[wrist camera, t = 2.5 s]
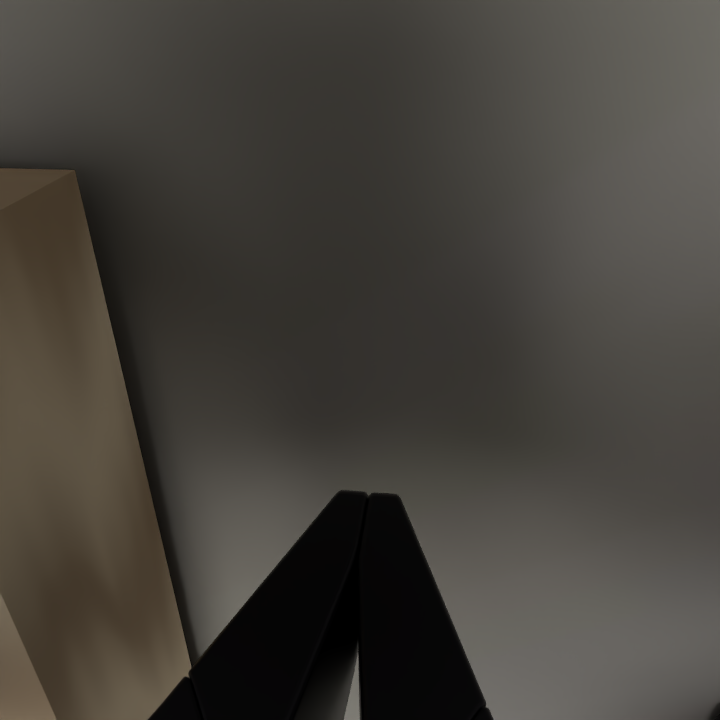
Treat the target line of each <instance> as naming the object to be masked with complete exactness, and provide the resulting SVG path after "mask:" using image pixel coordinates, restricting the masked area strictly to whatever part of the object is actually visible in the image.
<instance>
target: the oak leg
mask: <svg viewBox="0 0 720 720" xmlns="http://www.w3.org/2000/svg"><path fill="white" fill-rule="evenodd" d="M190 669H191V663H190V659H189V655H188V650H187V646H186V642H185V638H184V633H183V629H182V625H181V621H180V616H179V612H178V608H177V604H176V599H175V595H174V591H173V587H172V582H171V578H170V574H169V569H168V565H167V561H166V557H165V552H164V548H163V544H162V540H161V535H160V531H159V527H158V523H157V518H156V514H155V510H154V506H153V501H152V497H151V493H150V488H149V484H148V480H147V476H146V471H145V467H144V463H143V459H142V454H141V450H140V446H139V442H138V437H137V433H136V429H135V425H134V420H133V416H132V412H131V407H130V403H129V399H128V395H127V390H126V386H125V382H124V378H123V373H122V369H121V365H120V361H119V356H118V352H117V348H116V344H115V339H114V335H113V331H112V326H111V322H110V318H109V314H108V309H107V305H106V301H105V297H104V292H103V288H102V284H101V280H100V275H99V271H98V267H97V263H96V258H95V254H94V250H93V245H92V241H91V237H90V233H89V228H88V224H87V220H86V216H85V211H84V207H83V203H82V199H81V194H80V190H79V186H78V182H77V177H76V173H75V170H56V169H13V168H0V720H148V719H149V717H150V716H151V715H152V714H153V713H154V712H155V711H156V709H157V708H158V707H159V706H160V705H161V704H162V703H163V701H164V700H165V699H166V698H167V697H168V695H169V694H170V693H171V692H172V690H173V689H174V688H175V687H176V686H177V684H178V683H179V682H180V681H181V679H182V678H183V677H185V676H186V677H189V675H188V672H189V670H190Z"/></svg>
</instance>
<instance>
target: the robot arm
mask: <svg viewBox="0 0 720 720" xmlns="http://www.w3.org/2000/svg"><path fill="white" fill-rule="evenodd" d="M357 654H358V655H359V706H360V720H493V717H492V715H491V712H490V710H489V709H488V708H486V701H485V699H484V697H483V694H482V692H481V689H480V687H479V685H478V682H477V680H476V677H475V675H474V673H473V670H472V668H471V665H470V663H469V661H468V658H467V656H466V654H465V651H464V649H463V646H462V644H461V642H460V639H459V637H458V634H457V632H456V630H455V627H454V625H453V622H452V620H451V618H450V615H449V613H448V610H447V608H446V606H445V603H444V601H443V599H442V596H441V594H440V591H439V589H438V587H437V584H436V582H435V579H434V577H433V575H432V572H431V570H430V567H429V565H428V563H427V560H426V558H425V555H424V553H423V551H422V548H421V546H420V543H419V541H418V539H417V536H416V534H415V532H414V529H413V527H412V524H411V522H410V520H409V517H408V515H407V512H406V510H405V508H404V505H403V503H402V500H401V498H400V497H399V496H398V495H397V494H389V493H375V492H374V493H371V494H370V496H368V494H367V493H366V492H361V491H347V490H341V491H339V492H338V493H337V494H336V495H335V496H334V497H333V498H332V499H331V501H330V502H329V503H328V504H327V505H326V507H325V508H324V509H323V510H322V511H321V513H320V514H319V515H318V516H317V518H316V519H315V520H314V521H313V522H312V524H311V525H310V526H309V527H308V528H307V530H306V531H305V532H304V533H303V534H302V536H301V537H300V538H299V539H298V540H297V542H296V543H295V544H294V545H293V546H292V548H291V549H290V550H289V551H288V552H287V554H286V555H285V556H284V557H283V558H282V560H281V561H280V562H279V563H278V564H277V566H276V567H275V568H274V569H273V570H272V572H271V573H270V574H269V575H268V576H267V578H266V579H265V580H264V581H263V583H262V584H261V585H260V586H259V587H258V589H257V590H256V591H255V592H254V593H253V595H252V596H251V597H250V598H249V599H248V601H247V602H246V603H245V604H244V605H243V607H242V608H241V609H240V610H239V611H238V613H237V614H236V615H235V616H234V617H233V619H232V620H231V621H230V622H229V623H228V625H227V626H226V627H225V628H224V629H223V631H222V632H221V633H220V634H219V635H218V637H217V638H216V639H215V640H214V641H213V643H212V644H211V645H210V646H209V648H208V649H207V650H206V651H205V652H204V654H203V655H202V656H201V657H200V658H199V660H198V661H197V662H196V663H195V664H194V666H193V667H192V668H191V669H190V670H189V672H188V675H189V677H186V676H185V677H183V678H182V679H181V681H180V682H179V683H178V684H177V686H176V687H175V688H174V689H173V690H172V692H171V693H170V694H169V695H168V697H167V698H166V699H165V700H164V701H163V703H162V704H161V705H160V706H159V707H158V708H157V709H156V711H155V712H154V713H153V714H152V715H151V716H150V717H149V719H148V720H344V715H345V711H346V706H347V702H348V697H349V693H350V688H351V684H352V679H353V675H354V670H355V665H356V659H357ZM715 720H720V714H719V715H718V716H717V717H716V719H715Z"/></svg>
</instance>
